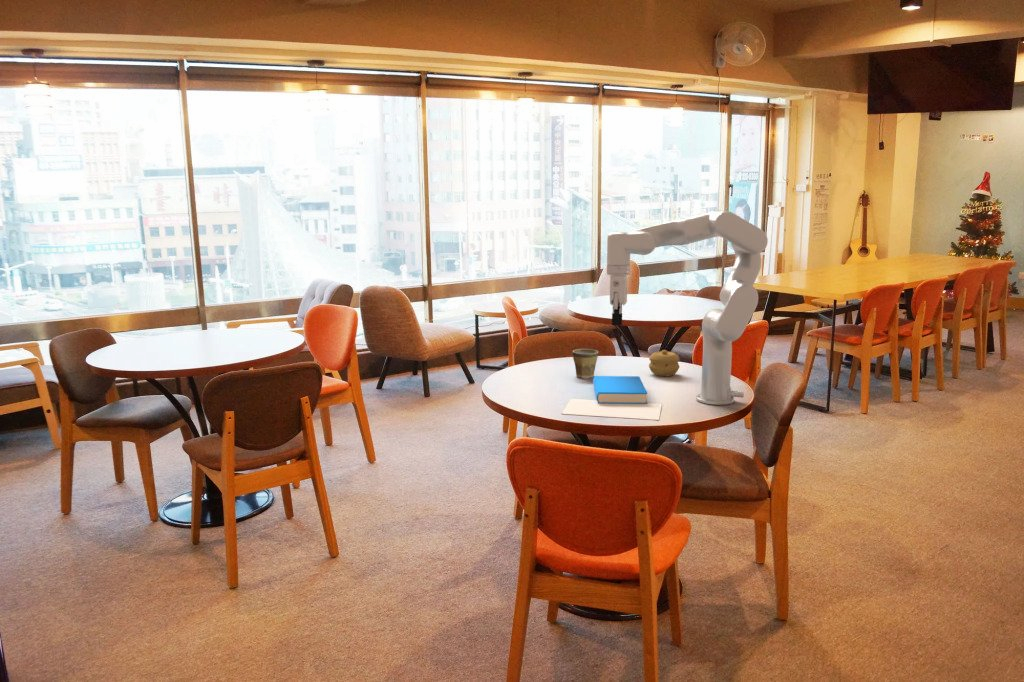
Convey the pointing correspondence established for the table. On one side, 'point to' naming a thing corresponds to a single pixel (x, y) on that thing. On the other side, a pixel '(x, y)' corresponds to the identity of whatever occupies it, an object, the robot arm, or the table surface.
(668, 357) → the pot
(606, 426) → the table surface
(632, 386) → the book
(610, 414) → the mat
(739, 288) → the robot arm
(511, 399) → the table surface
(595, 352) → the ceramic cup
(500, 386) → the table surface
